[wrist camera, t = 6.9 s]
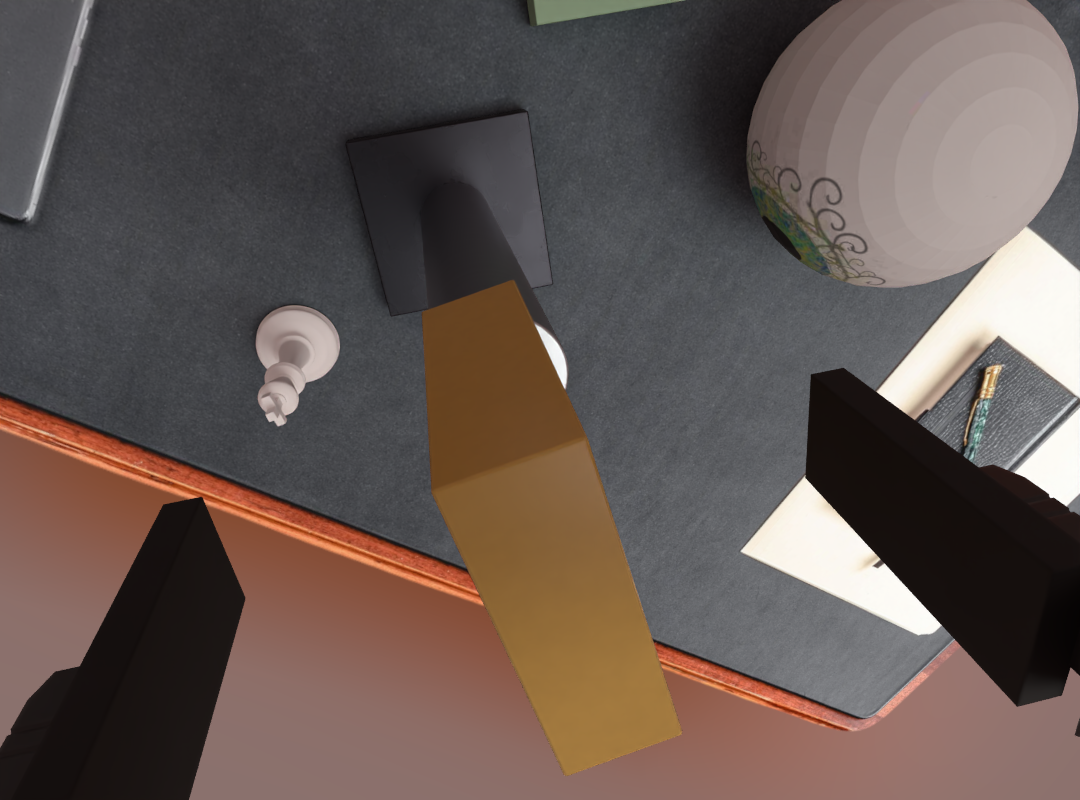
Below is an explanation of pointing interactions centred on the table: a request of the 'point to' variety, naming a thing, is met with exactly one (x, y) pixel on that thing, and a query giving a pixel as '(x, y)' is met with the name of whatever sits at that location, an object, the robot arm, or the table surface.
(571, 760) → the tap handle
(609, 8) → the button box
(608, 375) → the table surface
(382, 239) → the faucet body
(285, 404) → the chess piece
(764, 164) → the decorative object
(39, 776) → the robot arm
